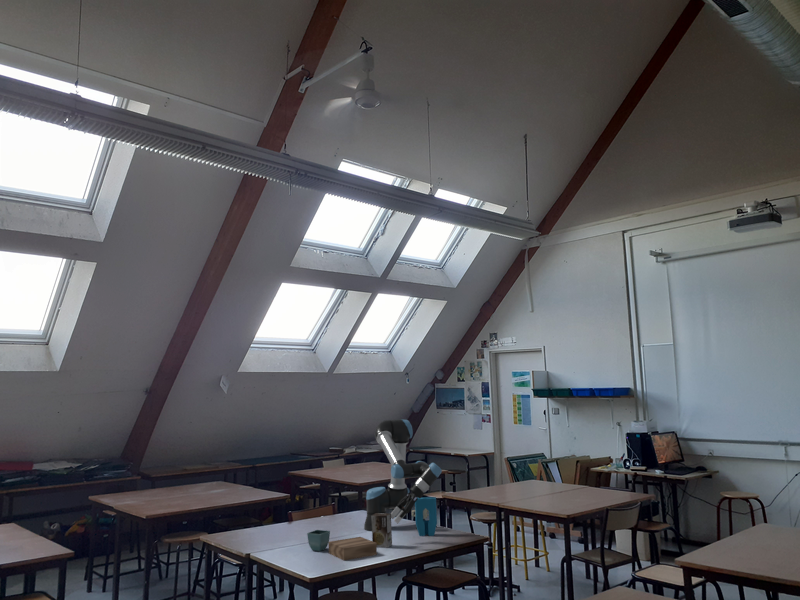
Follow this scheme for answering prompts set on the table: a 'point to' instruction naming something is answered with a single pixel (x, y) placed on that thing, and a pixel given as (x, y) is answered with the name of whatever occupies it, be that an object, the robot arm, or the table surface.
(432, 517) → the block
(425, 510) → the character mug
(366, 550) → the walnut block
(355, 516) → the table surface
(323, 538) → the flower pot
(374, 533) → the coffee box
